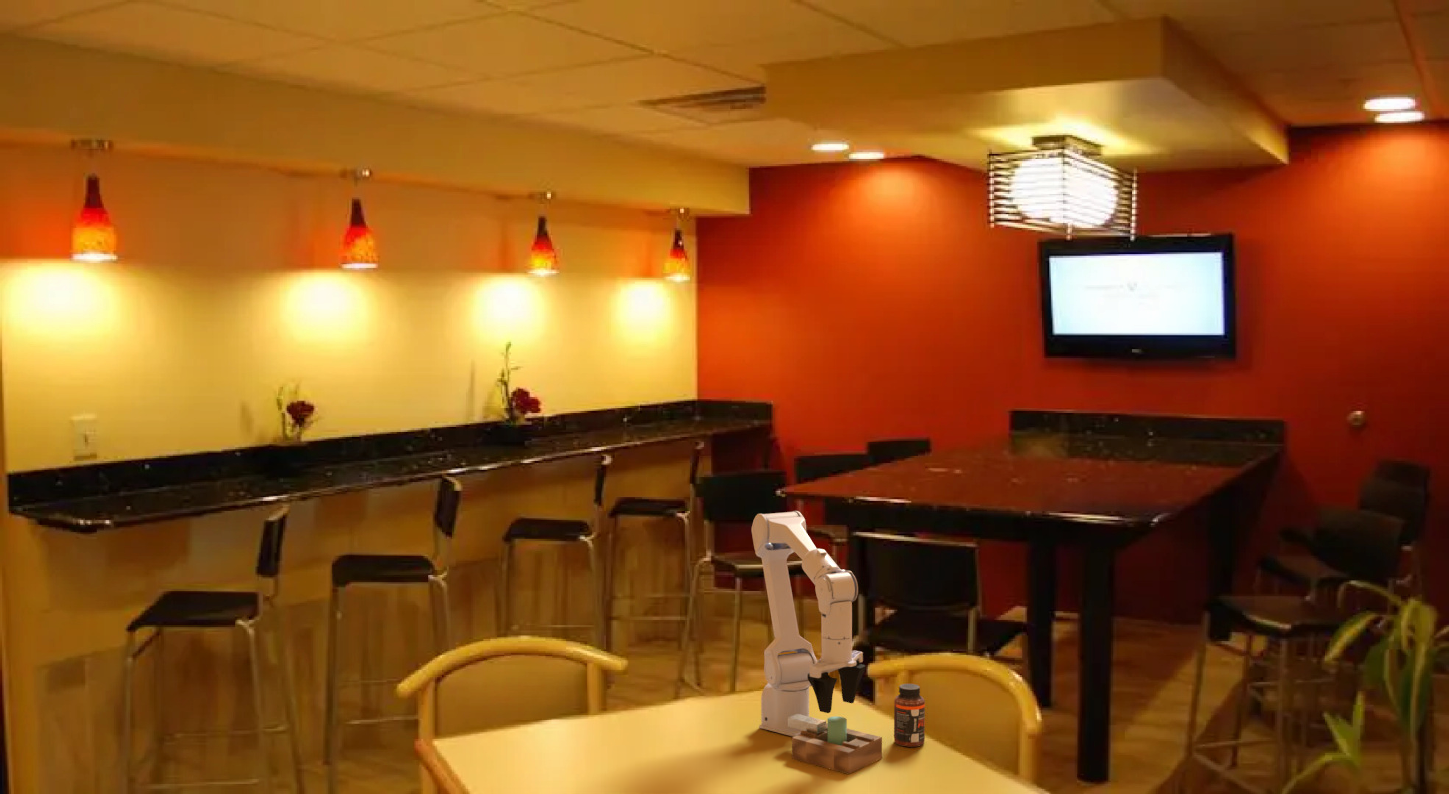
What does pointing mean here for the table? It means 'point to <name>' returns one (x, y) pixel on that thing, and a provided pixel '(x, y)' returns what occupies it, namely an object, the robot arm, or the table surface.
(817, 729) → the tan rectangular block
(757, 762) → the table surface
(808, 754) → the dock
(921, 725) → the supplement bottle
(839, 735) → the peg
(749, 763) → the table surface
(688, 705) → the table surface
